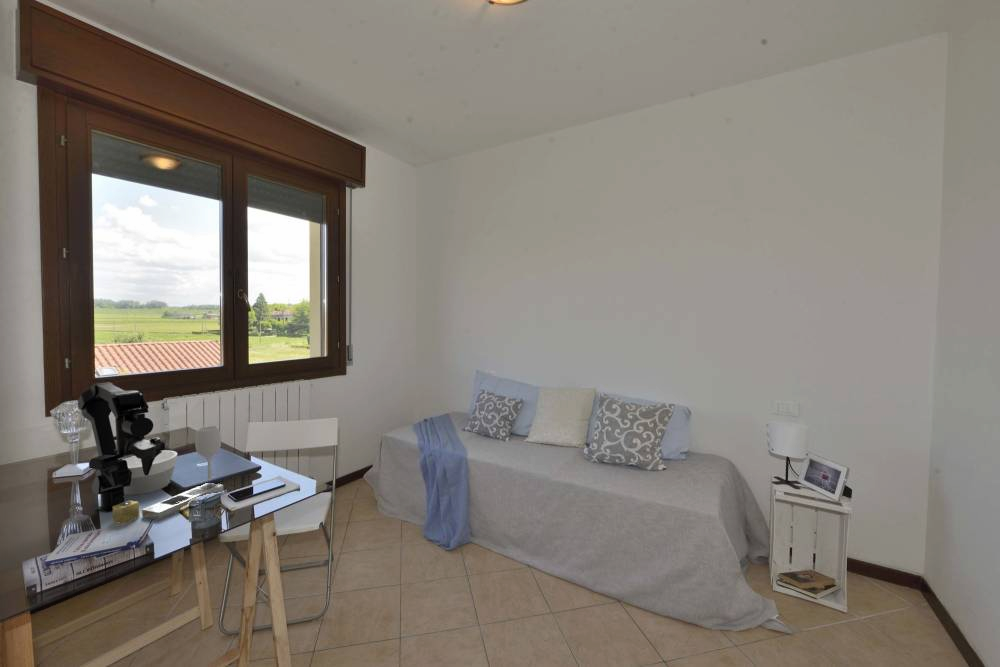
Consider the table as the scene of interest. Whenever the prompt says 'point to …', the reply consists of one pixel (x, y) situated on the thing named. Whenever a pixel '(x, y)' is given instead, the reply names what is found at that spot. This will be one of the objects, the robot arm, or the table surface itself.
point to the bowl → (150, 473)
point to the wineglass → (208, 443)
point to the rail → (168, 507)
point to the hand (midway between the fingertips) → (131, 480)
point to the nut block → (125, 511)
